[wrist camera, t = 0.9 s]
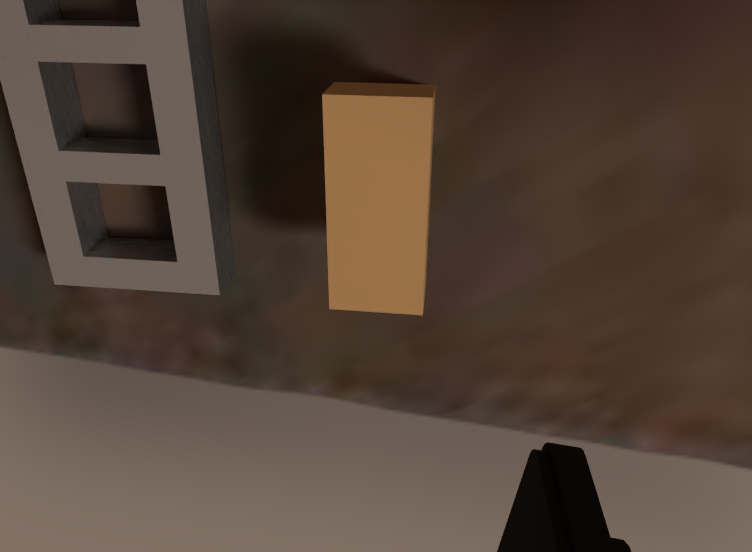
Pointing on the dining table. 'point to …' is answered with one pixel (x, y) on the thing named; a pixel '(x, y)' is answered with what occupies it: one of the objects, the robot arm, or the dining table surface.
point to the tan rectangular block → (378, 194)
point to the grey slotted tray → (120, 144)
